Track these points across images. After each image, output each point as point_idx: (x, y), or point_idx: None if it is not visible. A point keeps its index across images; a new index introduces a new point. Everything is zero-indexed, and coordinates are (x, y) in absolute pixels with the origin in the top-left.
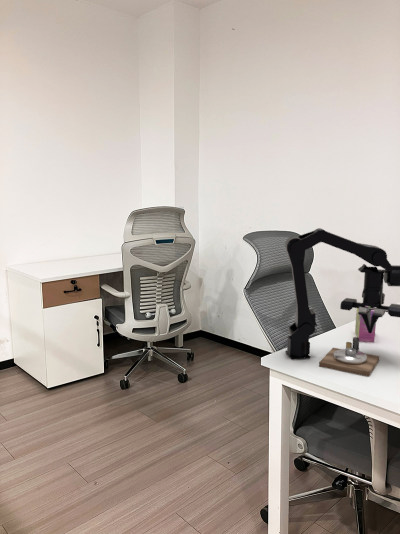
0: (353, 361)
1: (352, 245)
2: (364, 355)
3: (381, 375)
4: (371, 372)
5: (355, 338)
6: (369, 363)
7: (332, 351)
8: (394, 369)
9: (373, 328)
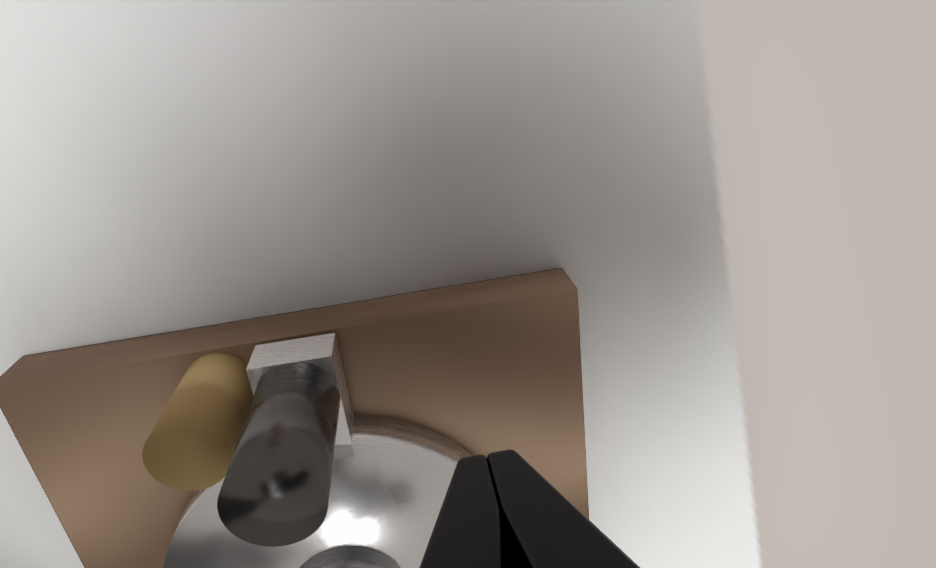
0: None
1: None
2: None
3: (656, 548)
4: None
5: (272, 523)
6: None
7: (83, 496)
8: (731, 380)
9: (569, 517)
